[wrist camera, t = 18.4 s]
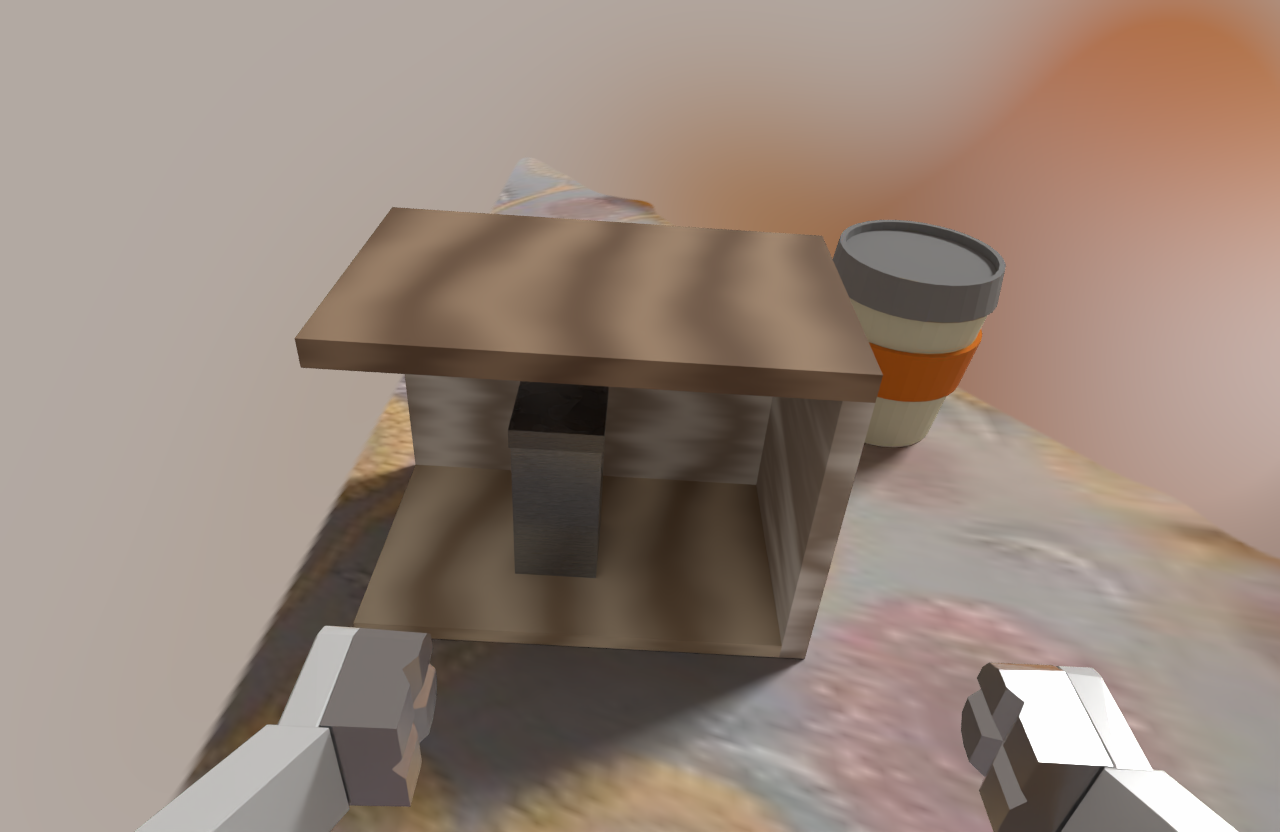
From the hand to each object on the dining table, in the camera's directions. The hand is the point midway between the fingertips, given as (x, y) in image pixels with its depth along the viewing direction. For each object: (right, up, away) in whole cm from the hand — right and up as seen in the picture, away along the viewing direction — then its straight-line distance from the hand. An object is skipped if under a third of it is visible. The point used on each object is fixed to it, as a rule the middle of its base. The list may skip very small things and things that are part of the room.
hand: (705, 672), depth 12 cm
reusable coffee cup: (+19, +4, +57) cm, 60 cm away
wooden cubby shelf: (-4, -5, +41) cm, 42 cm away
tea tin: (-6, -5, +40) cm, 41 cm away
